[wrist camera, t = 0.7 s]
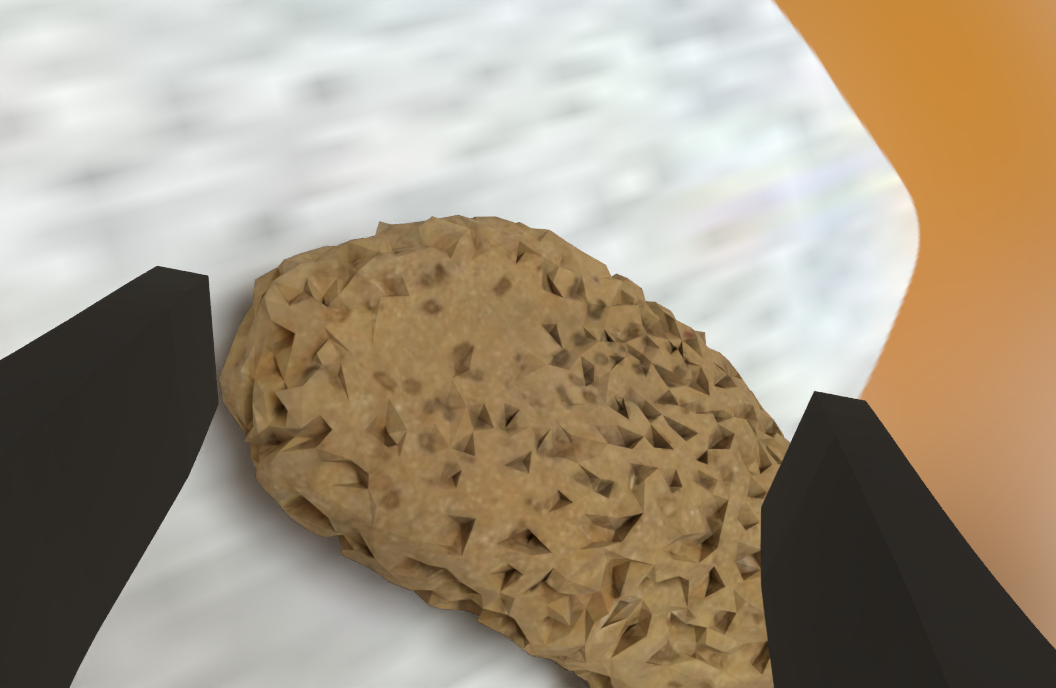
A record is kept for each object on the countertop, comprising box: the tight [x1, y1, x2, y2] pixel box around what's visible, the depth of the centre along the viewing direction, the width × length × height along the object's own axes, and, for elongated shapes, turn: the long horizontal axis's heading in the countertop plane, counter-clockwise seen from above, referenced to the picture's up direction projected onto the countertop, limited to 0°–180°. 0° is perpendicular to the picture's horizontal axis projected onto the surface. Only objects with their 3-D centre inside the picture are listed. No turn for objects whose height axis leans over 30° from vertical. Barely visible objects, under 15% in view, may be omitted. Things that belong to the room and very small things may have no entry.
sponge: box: [219, 215, 790, 688], centre depth 27 cm, size 13×8×20 cm
